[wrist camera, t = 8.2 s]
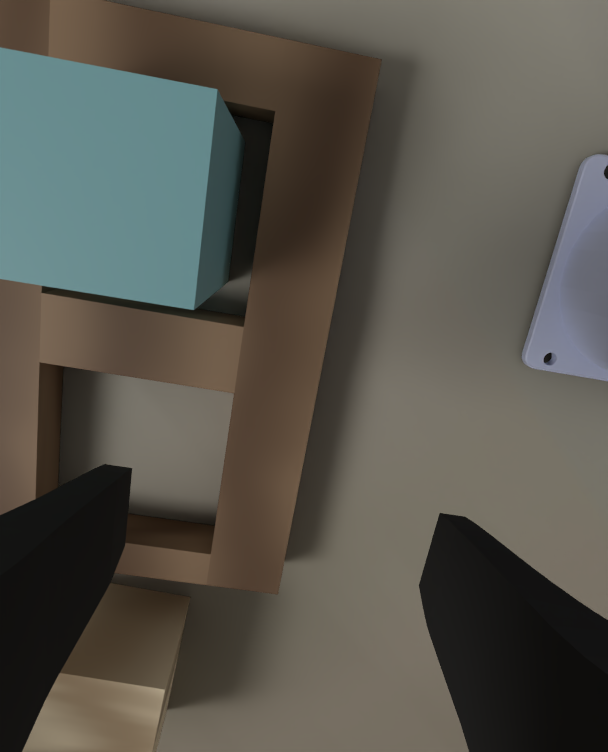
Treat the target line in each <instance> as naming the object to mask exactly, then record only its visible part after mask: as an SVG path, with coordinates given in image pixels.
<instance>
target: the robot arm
mask: <svg viewBox="0 0 608 752" xmlns="http://www.w3.org/2000/svg"><path fill="white" fill-rule="evenodd" d="M606 166H608V155H604V154H596V155H592V156H589V157H587V158H586V159H585V160H584V161H583V162H582V163H581V165H580V167H579V170H578V173H577V177H576V180H575V183H574V186H573V190H572V193H571V196H570V199H569V203H568V206H567V209H566V212H565V216H564V219H563V222H562V225H561V229H560V232H559V235H558V238H557V242H556V245H555V248H554V251H553V254H552V258H551V261H550V264H549V267H548V271H547V274H546V277H545V280H544V284H543V287H542V290H541V293H540V297H539V300H538V303H537V306H536V310H535V313H534V316H533V319H532V323H531V326H530V329H529V332H528V336H527V339H526V342H525V345H524V349H523V352H522V360H523V362H524V363H525V364H526V365H527V366H529V367H531V368H533V369H539V370H545V371H551V372H556V373H562V374H568V375H574V376H580V377H586V378H592V379H598V380H603V381H608V179H607V178H605V176H604V170H605V168H606ZM548 353H551V354H552V358H551V359H550V361H548V362H547V363H544V357H545V355H546V354H548ZM131 474H132V468H127V467H120V466H113V465H106V464H104V465H102V466H100V467H97V468H95V469H93V470H91V471H89V472H87V473H85V474H83V475H81V476H80V477H78V478H76V479H74V480H72V481H70V482H68V483H66V484H64V485H62V486H60V487H58V488H56V489H54V490H52V491H50V492H49V493H47V494H45V495H43V496H41V497H39V498H37V499H35V500H32V501H30V502H28V503H26V504H24V505H21V506H19V507H17V508H15V509H13V510H10V511H8V512H6V513H4V514H2V515H0V752H22V751H23V749H24V747H25V744H26V742H27V740H28V738H29V735H30V733H31V731H32V729H33V727H34V724H35V722H36V720H37V718H38V715H39V713H40V711H41V709H42V707H43V704H44V702H45V700H46V698H47V696H48V694H49V692H50V690H51V689H52V687H53V685H54V683H55V681H56V679H57V677H58V675H59V674H60V672H61V670H62V668H63V666H64V665H65V663H66V661H67V659H68V658H69V656H70V654H71V652H72V651H73V649H74V647H75V645H76V644H77V642H78V640H79V638H80V637H81V635H82V633H83V631H84V629H85V628H86V626H87V624H88V622H89V621H90V619H91V617H92V615H93V614H94V612H95V610H96V608H97V606H98V605H99V603H100V601H101V599H102V597H103V596H104V594H105V592H106V590H107V588H108V586H109V584H110V582H111V580H112V577H113V575H114V572H115V570H116V568H117V565H118V563H119V560H120V558H121V555H122V552H123V550H124V547H125V541H126V530H127V519H128V507H129V496H130V485H131ZM419 588H420V593H421V599H422V604H423V609H424V614H425V619H426V623H427V627H428V630H429V634H430V637H431V640H432V643H433V645H434V648H435V651H436V654H437V657H438V660H439V663H440V666H441V669H442V672H443V674H444V677H445V680H446V683H447V686H448V689H449V692H450V694H451V697H452V700H453V703H454V706H455V709H456V712H457V715H458V717H459V720H460V723H461V726H462V729H463V733H464V736H465V739H466V742H467V746H468V749H469V752H608V620H607V619H605V618H603V617H602V616H600V615H599V614H597V613H595V612H594V611H592V610H591V609H589V608H588V607H586V606H585V605H583V604H582V603H580V602H579V601H577V600H576V599H575V598H573V597H572V596H570V595H569V594H568V593H566V592H565V591H563V590H562V589H561V588H559V587H558V586H556V585H555V584H553V583H552V582H551V581H549V580H548V579H547V578H545V577H544V576H543V575H541V574H540V573H539V572H537V571H536V570H535V569H534V568H532V567H531V566H530V565H528V564H527V563H526V562H524V561H523V560H522V559H521V558H519V557H518V556H517V555H515V554H514V553H513V552H512V551H510V550H509V549H508V548H507V547H505V546H504V545H503V544H502V543H500V542H499V541H498V540H496V539H495V538H494V537H493V536H491V535H490V534H489V533H487V532H486V531H485V530H483V529H482V528H481V527H479V526H478V525H477V524H475V523H474V522H472V521H471V520H469V519H468V518H466V517H463V516H456V515H449V514H442V513H440V514H439V518H438V521H437V524H436V528H435V531H434V535H433V538H432V542H431V545H430V549H429V552H428V556H427V559H426V563H425V566H424V570H423V573H422V577H421V580H420V584H419Z"/></svg>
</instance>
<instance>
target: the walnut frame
mask: <svg viewBox="0 0 608 752" xmlns="http://www.w3.org/2000/svg"><path fill="white" fill-rule="evenodd" d="M0 47H1V48H6V49H11V50H16V51H22V52H27V53H32V54H37V55H42V56H48V57H53V58H58V59H63V60H68V61H74V62H79V63H84V64H89V65H94V66H100V67H105V68H110V69H115V70H120V71H125V72H131V73H136V74H141V75H146V76H151V77H157V78H162V79H167V80H172V81H177V82H183V83H188V84H193V85H198V86H203V87H208V88H214V89H218V91H219V93H220V95H221V97H222V99H223V101H224V103H225V104H226V106H227V108H228V110H229V112H230V114H231V115H235V116H240V117H245V118H250V119H255V120H260V121H265V122H270V123H273V130H272V137H271V144H270V150H269V157H268V164H267V171H266V178H265V185H264V192H263V199H262V206H261V212H260V219H259V226H258V233H257V240H256V247H255V254H254V261H253V268H252V274H251V281H250V288H249V295H248V302H247V309H246V316H245V317H243V316H237V315H231V314H225V313H219V312H213V311H208V310H202V309H195V310H190V309H184V308H178V307H171V306H165V305H159V304H153V303H147V302H140V301H134V300H128V299H122V298H116V297H109V296H103V295H97V294H91V293H85V292H78V291H72V290H66V289H60V288H54V287H47V286H41V285H35V284H29V283H23V282H16V281H10V280H4V279H0V515H2V514H4V513H6V512H8V511H10V510H13V509H15V508H17V507H19V506H21V505H24V504H26V503H28V502H30V501H32V500H35V499H37V498H39V497H41V496H43V495H45V494H47V493H49V492H50V491H52V490H54V489H56V488H58V477H59V453H60V430H61V407H62V384H63V366H66V367H72V368H78V369H85V370H91V371H97V372H104V373H110V374H116V375H122V376H129V377H135V378H141V379H148V380H154V381H160V382H167V383H173V384H179V385H185V386H192V387H198V388H204V389H211V390H217V391H223V392H229V393H234V398H233V405H232V412H231V419H230V426H229V433H228V440H227V447H226V453H225V460H224V467H223V474H222V481H221V488H220V495H219V502H218V509H217V515H216V522H215V526H213V525H205V524H198V523H191V522H184V521H177V520H169V519H162V518H155V517H148V516H141V515H134V514H128V519H127V530H126V541H125V547H124V550H123V552H122V555H121V558H120V560H119V563H118V565H117V568H116V570H115V572H114V573H118V574H125V575H133V576H141V577H148V578H156V579H164V580H171V581H179V582H187V583H194V584H202V585H210V586H217V587H225V588H233V589H240V590H248V591H256V592H263V593H271V594H278V591H279V586H280V581H281V576H282V571H283V565H284V560H285V555H286V550H287V545H288V540H289V535H290V529H291V524H292V519H293V514H294V509H295V504H296V499H297V493H298V488H299V483H300V478H301V473H302V468H303V462H304V457H305V452H306V447H307V442H308V437H309V432H310V426H311V421H312V416H313V411H314V406H315V401H316V396H317V390H318V385H319V380H320V375H321V370H322V365H323V359H324V354H325V349H326V344H327V339H328V334H329V329H330V323H331V318H332V313H333V308H334V303H335V298H336V293H337V287H338V282H339V277H340V272H341V267H342V262H343V256H344V251H345V246H346V241H347V236H348V231H349V226H350V220H351V215H352V210H353V205H354V200H355V195H356V190H357V184H358V179H359V174H360V169H361V164H362V159H363V153H364V148H365V143H366V138H367V133H368V128H369V123H370V117H371V112H372V107H373V102H374V97H375V92H376V87H377V81H378V76H379V71H380V66H381V61H382V59H377V58H372V57H368V56H363V55H358V54H354V53H349V52H344V51H340V50H335V49H330V48H325V47H321V46H316V45H311V44H307V43H302V42H297V41H292V40H288V39H283V38H278V37H274V36H269V35H264V34H260V33H255V32H250V31H245V30H241V29H236V28H231V27H227V26H222V25H217V24H213V23H208V22H203V21H198V20H194V19H189V18H184V17H180V16H175V15H170V14H165V13H161V12H156V11H151V10H147V9H142V8H137V7H133V6H128V5H123V4H118V3H114V2H109V1H104V0H0Z"/></svg>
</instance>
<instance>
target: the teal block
mask: <svg viewBox="0 0 608 752" xmlns="http://www.w3.org/2000/svg"><path fill="white" fill-rule="evenodd" d="M244 149H245V140H244V139H243V137H242V135H241V133H240V131H239V129H238V127H237V125H236V123H235V122H234V120H233V118H232V116H231V114H230V112H229V110H228V108H227V106H226V104H225V103H224V101H223V99H222V97H221V95H220V93H219V91H218V89H214V88H208V87H203V86H198V85H193V84H188V83H183V82H177V81H172V80H167V79H162V78H157V77H151V76H146V75H141V74H136V73H131V72H125V71H120V70H115V69H110V68H105V67H100V66H94V65H89V64H84V63H79V62H74V61H68V60H63V59H58V58H53V57H48V56H42V55H37V54H32V53H27V52H22V51H16V50H11V49H6V48H1V47H0V279H4V280H10V281H16V282H23V283H29V284H35V285H41V286H47V287H54V288H60V289H66V290H72V291H78V292H85V293H91V294H97V295H103V296H109V297H116V298H122V299H128V300H134V301H140V302H147V303H153V304H159V305H165V306H171V307H178V308H184V309H190V310H195V309H196V308H197V307H198V306H200V305H201V304H202V303H203V302H204V301H206V300H207V299H208V298H209V297H210V296H212V295H213V294H214V293H215V292H216V291H218V290H219V289H220V288H221V287H223V286H224V285H225V284H226V283H227V282H228V279H229V271H230V262H231V254H232V246H233V238H234V230H235V222H236V214H237V206H238V198H239V190H240V182H241V173H242V165H243V157H244Z"/></svg>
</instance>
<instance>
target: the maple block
mask: <svg viewBox="0 0 608 752" xmlns="http://www.w3.org/2000/svg"><path fill="white" fill-rule="evenodd" d="M189 601H190V597H187V596H181V595H176V594H170V593H164V592H159V591H153V590H147V589H142V588H136V587H131V586H125V585H119V584H114V583H110V584H109V586H108V588H107V590H106V592H105V594H104V596H103V597H102V599H101V601H100V603H99V605H98V606H97V608H96V610H95V612H94V614H93V615H92V617H91V619H90V621H89V622H88V624H87V626H86V628H85V629H84V631H83V633H82V635H81V637H80V638H79V640H78V642H77V644H76V645H75V647H74V649H73V651H72V652H71V654H70V656H69V658H68V659H67V661H66V663H65V665H64V666H63V668H62V670H61V672H60V674H59V675H58V677H57V679H56V681H55V683H54V685H53V687H52V689H51V690H50V692H49V694H48V696H47V698H46V700H45V702H44V704H43V707H42V709H41V711H40V713H39V715H38V718H37V720H36V722H35V724H34V727H33V729H32V731H31V733H30V735H29V738H28V740H27V742H26V744H25V747H24V749H23V751H22V752H156V750H157V746H158V742H159V739H160V735H161V731H162V727H163V723H164V719H165V715H166V711H167V707H168V702H169V697H170V693H171V688H172V683H173V678H174V673H175V669H176V664H177V659H178V654H179V649H180V645H181V640H182V635H183V630H184V625H185V621H186V616H187V611H188V606H189Z"/></svg>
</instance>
